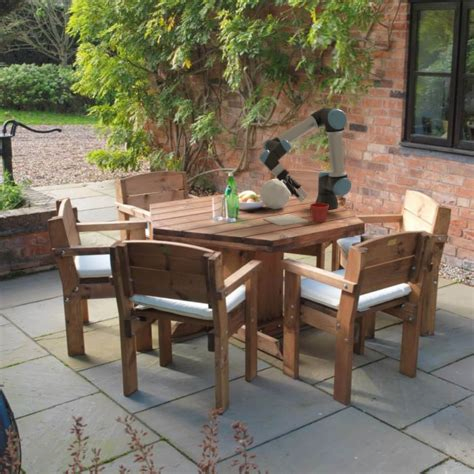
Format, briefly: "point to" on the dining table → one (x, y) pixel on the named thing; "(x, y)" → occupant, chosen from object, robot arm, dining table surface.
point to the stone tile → (285, 220)
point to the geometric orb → (275, 194)
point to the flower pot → (319, 212)
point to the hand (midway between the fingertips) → (304, 198)
